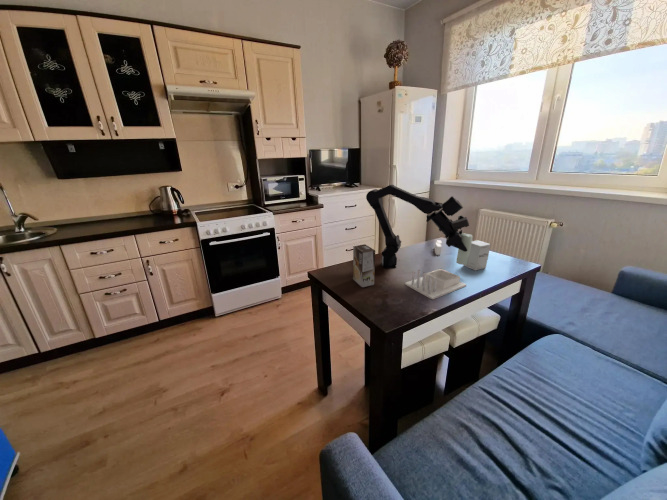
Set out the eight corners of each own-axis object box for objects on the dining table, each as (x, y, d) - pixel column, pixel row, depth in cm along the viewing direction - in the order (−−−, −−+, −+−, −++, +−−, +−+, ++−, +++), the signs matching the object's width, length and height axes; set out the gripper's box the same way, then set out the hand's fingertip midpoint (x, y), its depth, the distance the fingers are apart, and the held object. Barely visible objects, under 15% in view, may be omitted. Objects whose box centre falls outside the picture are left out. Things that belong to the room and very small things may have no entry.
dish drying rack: (432, 299, 106) (434, 284, 103) (404, 284, 118) (405, 270, 115) (466, 286, 116) (468, 271, 113) (437, 273, 128) (439, 260, 125)
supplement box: (475, 271, 129) (480, 246, 125) (462, 265, 136) (466, 241, 131) (486, 268, 132) (491, 243, 128) (473, 262, 139) (477, 239, 134)
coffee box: (374, 284, 118) (376, 250, 112) (362, 287, 116) (362, 252, 110) (364, 276, 126) (365, 243, 120) (352, 279, 124) (352, 246, 118)
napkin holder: (440, 257, 147) (442, 248, 145) (422, 252, 155) (423, 242, 153) (455, 251, 155) (456, 242, 153) (437, 246, 164) (438, 237, 162)
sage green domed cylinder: (459, 264, 120) (463, 236, 115) (454, 260, 124) (458, 233, 120) (470, 264, 120) (475, 236, 115) (464, 260, 124) (469, 233, 120)
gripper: (458, 215, 108) (485, 245, 107) (459, 206, 124) (481, 232, 123) (435, 232, 113) (460, 260, 113) (438, 222, 129) (460, 246, 129)
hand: (466, 249), depth 119 cm, fingers closed on sage green domed cylinder, 5 cm apart
